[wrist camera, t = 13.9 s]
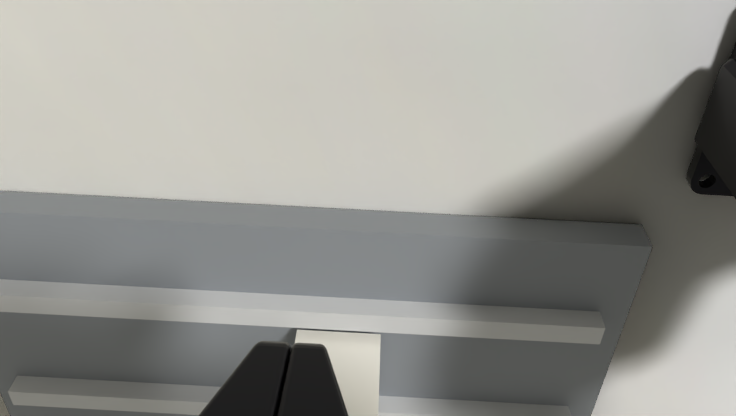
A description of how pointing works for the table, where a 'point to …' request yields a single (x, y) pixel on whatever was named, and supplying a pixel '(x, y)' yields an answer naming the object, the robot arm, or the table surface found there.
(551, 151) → the table surface
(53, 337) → the grey slider track board
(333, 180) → the table surface
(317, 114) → the table surface
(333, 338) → the cream slider
